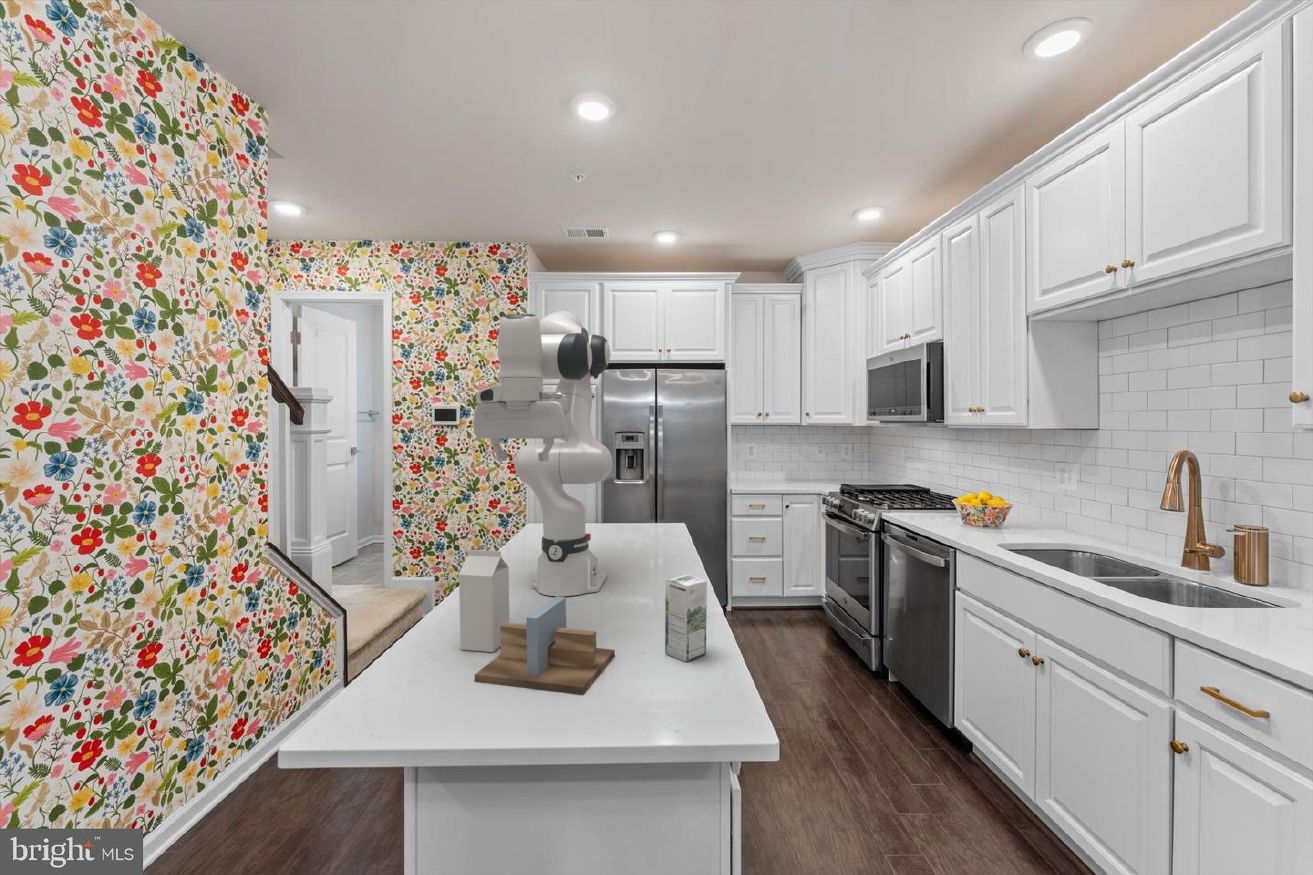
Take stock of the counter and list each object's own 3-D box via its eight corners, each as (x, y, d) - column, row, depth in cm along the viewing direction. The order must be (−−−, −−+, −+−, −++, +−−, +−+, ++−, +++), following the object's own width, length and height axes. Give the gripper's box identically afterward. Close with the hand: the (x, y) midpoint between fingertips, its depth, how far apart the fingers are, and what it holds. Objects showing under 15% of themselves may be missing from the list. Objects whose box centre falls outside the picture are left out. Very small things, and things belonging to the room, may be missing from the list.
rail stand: (519, 645, 115) (519, 610, 115) (614, 655, 110) (614, 618, 110) (474, 681, 100) (473, 639, 100) (582, 694, 95) (582, 651, 95)
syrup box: (684, 645, 115) (684, 573, 114) (707, 654, 111) (707, 579, 110) (664, 654, 111) (664, 579, 110) (687, 663, 107) (686, 585, 106)
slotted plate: (556, 648, 111) (556, 596, 111) (566, 649, 111) (565, 597, 110) (527, 674, 100) (526, 617, 99) (537, 676, 99) (537, 618, 99)
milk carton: (493, 653, 112) (492, 555, 112) (460, 650, 114) (458, 554, 113) (510, 639, 119) (508, 547, 118) (478, 636, 120) (476, 546, 120)
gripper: (574, 392, 118) (575, 460, 119) (485, 394, 123) (486, 459, 124) (562, 391, 112) (563, 463, 113) (468, 393, 117) (470, 461, 118)
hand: (522, 461), depth 118 cm, fingers open, 8 cm apart
